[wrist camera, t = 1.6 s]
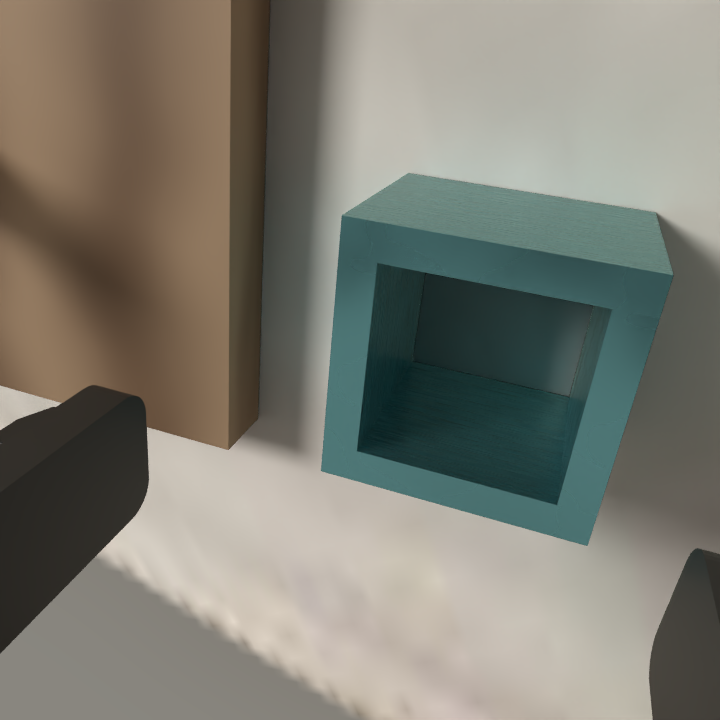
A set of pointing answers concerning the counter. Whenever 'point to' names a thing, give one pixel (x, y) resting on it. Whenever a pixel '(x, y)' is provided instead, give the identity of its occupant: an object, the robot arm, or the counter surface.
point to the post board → (135, 205)
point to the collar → (478, 394)
